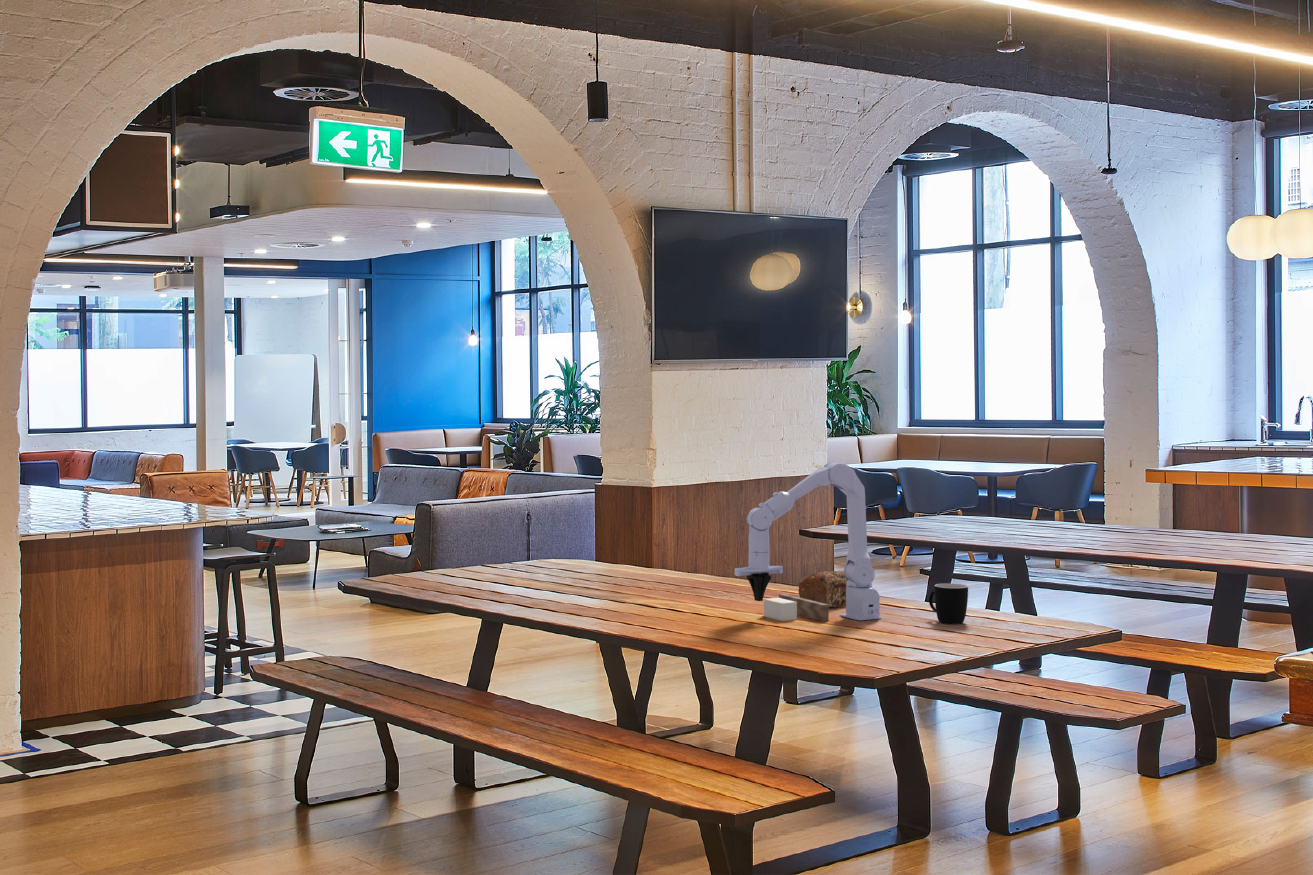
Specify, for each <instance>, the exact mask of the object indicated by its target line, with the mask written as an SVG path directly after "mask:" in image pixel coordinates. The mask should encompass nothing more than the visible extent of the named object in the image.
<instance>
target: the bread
mask: <svg viewBox="0 0 1313 875" xmlns="http://www.w3.org/2000/svg"><path fill="white" fill-rule="evenodd" d="M847 581H848V579H847V578H846V577H845V575H844V571H841V570H840V571H836V570H824V571H819V572H816V573H810V574H808V575H806V576H804V577H803V578H802V579H801V580H800V581H799V583H798V595H799V596H798V597H800V598H804V599H808V600H812V601H816V602H820V603H824V604H829V608H830V607H832V608H838V607H842V606H841V605H843V606H845V605H844V604H846V583H847Z"/></svg>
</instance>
